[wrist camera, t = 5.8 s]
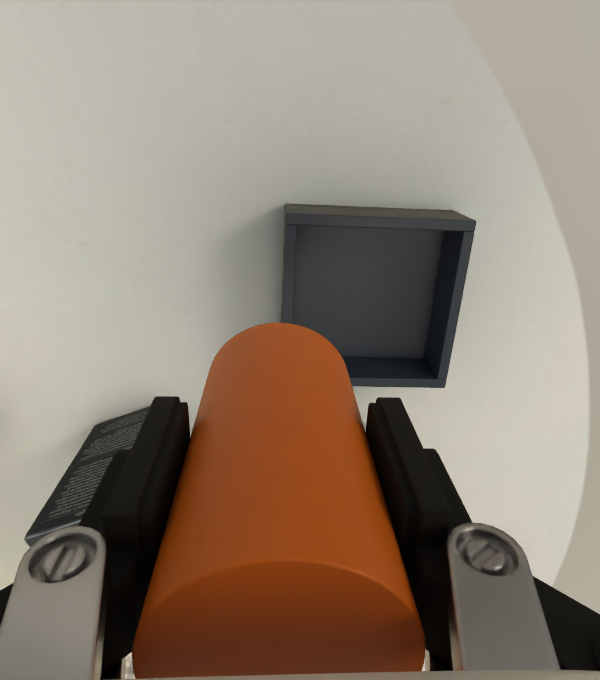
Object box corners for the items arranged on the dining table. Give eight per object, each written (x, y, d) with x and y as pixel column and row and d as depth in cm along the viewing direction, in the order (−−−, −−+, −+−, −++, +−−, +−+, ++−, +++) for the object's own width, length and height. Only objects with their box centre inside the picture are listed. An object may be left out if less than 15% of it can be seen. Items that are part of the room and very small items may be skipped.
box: (212, 482, 36) (188, 611, 27) (143, 504, 37) (96, 638, 27) (165, 398, 33) (120, 508, 23) (92, 423, 34) (17, 541, 24)
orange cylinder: (204, 321, 14) (112, 562, 6) (354, 323, 14) (447, 557, 6) (210, 445, 16) (146, 755, 8) (344, 445, 16) (407, 746, 8)
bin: (284, 203, 28) (285, 213, 25) (454, 210, 29) (477, 220, 26) (279, 359, 32) (280, 385, 29) (428, 362, 33) (445, 388, 30)
